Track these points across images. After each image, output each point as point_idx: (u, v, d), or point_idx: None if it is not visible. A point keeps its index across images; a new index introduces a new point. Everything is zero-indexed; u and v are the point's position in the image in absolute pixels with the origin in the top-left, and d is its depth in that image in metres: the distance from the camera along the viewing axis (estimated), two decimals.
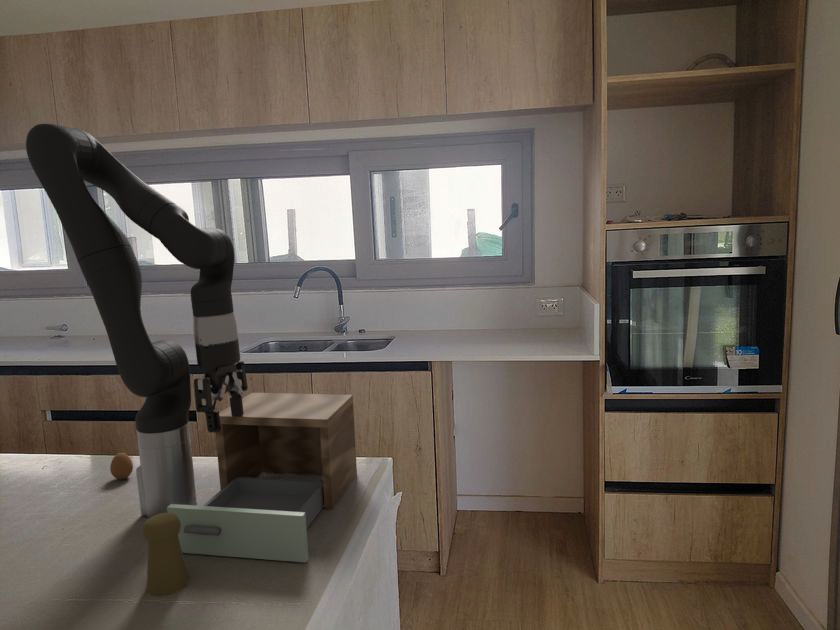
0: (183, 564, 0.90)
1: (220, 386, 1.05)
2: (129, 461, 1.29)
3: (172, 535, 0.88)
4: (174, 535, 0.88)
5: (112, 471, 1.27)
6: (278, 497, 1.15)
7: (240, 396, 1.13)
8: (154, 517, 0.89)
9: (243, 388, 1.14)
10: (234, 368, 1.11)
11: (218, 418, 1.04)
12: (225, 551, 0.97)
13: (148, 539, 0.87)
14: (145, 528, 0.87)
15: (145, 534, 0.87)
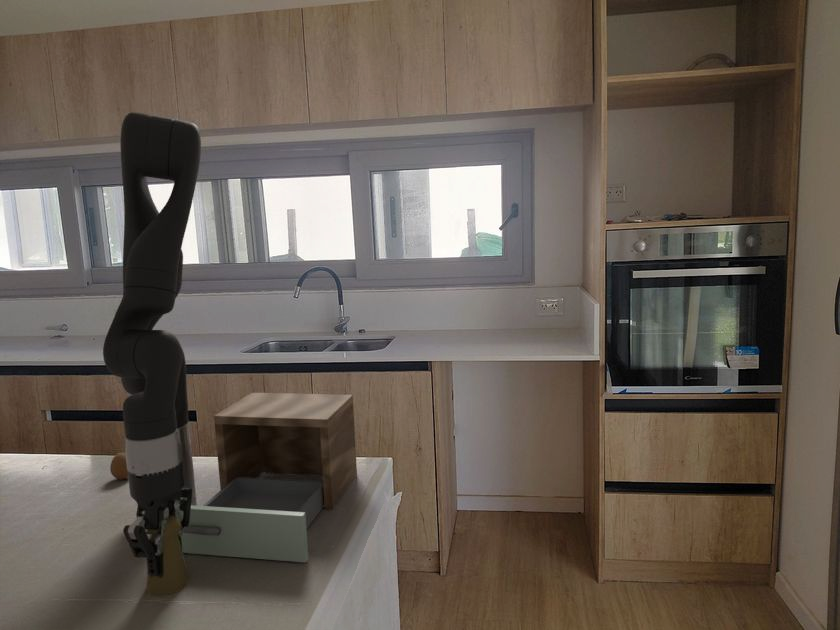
0: (183, 564, 0.90)
1: (159, 524, 0.86)
2: None
3: (172, 535, 0.88)
4: (174, 535, 0.88)
5: (112, 471, 1.27)
6: (278, 497, 1.15)
7: None
8: None
9: (183, 524, 0.93)
10: (178, 493, 0.91)
11: (162, 561, 0.87)
12: (225, 551, 0.97)
13: None
14: None
15: None
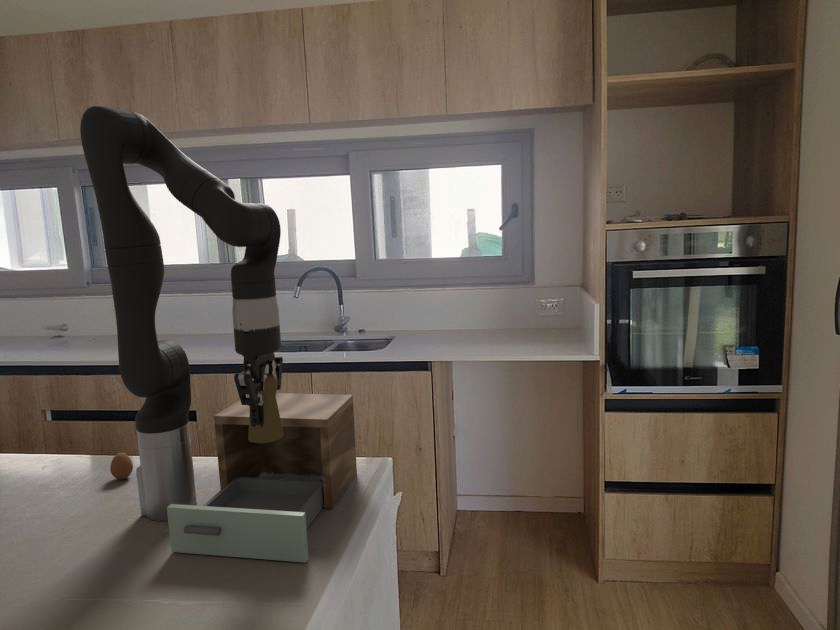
0: (280, 419, 1.01)
1: (261, 378, 0.97)
2: (129, 461, 1.29)
3: (272, 390, 0.98)
4: (273, 390, 0.99)
5: (112, 471, 1.27)
6: (278, 497, 1.15)
7: None
8: None
9: None
10: (273, 357, 1.02)
11: (263, 412, 0.98)
12: (225, 551, 0.97)
13: None
14: None
15: None
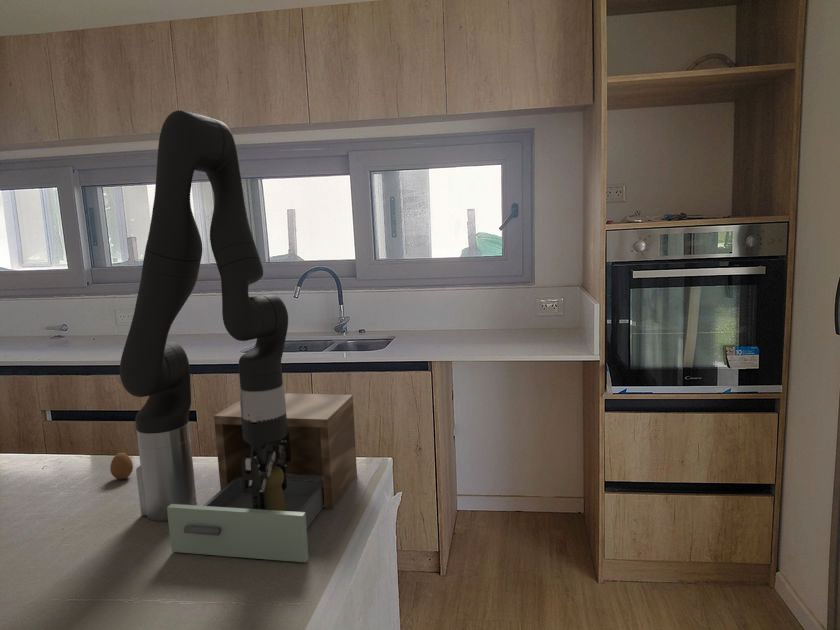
0: (286, 510, 1.03)
1: (266, 464, 0.99)
2: (129, 461, 1.29)
3: (279, 484, 1.01)
4: (280, 484, 1.01)
5: (112, 471, 1.27)
6: None
7: (284, 469, 1.07)
8: None
9: (287, 459, 1.08)
10: (280, 440, 1.04)
11: (264, 498, 0.98)
12: (225, 551, 0.97)
13: None
14: None
15: None
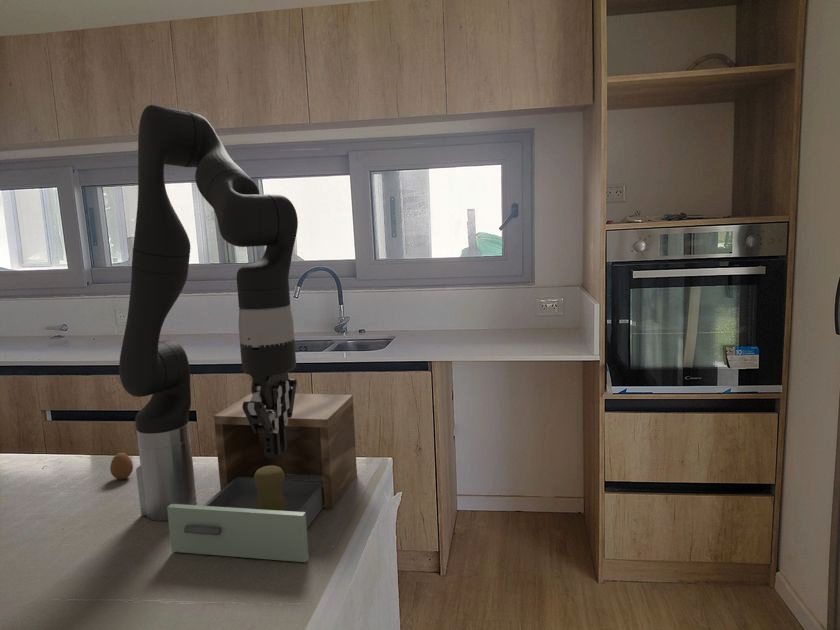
0: (286, 510, 1.03)
1: (274, 402, 0.82)
2: (129, 461, 1.29)
3: (279, 484, 1.01)
4: (280, 484, 1.01)
5: (112, 471, 1.27)
6: None
7: (282, 425, 0.86)
8: (262, 468, 1.02)
9: (287, 415, 0.87)
10: (286, 376, 0.87)
11: (278, 440, 0.84)
12: (225, 551, 0.97)
13: (259, 487, 1.00)
14: (256, 477, 1.00)
15: (257, 482, 1.00)
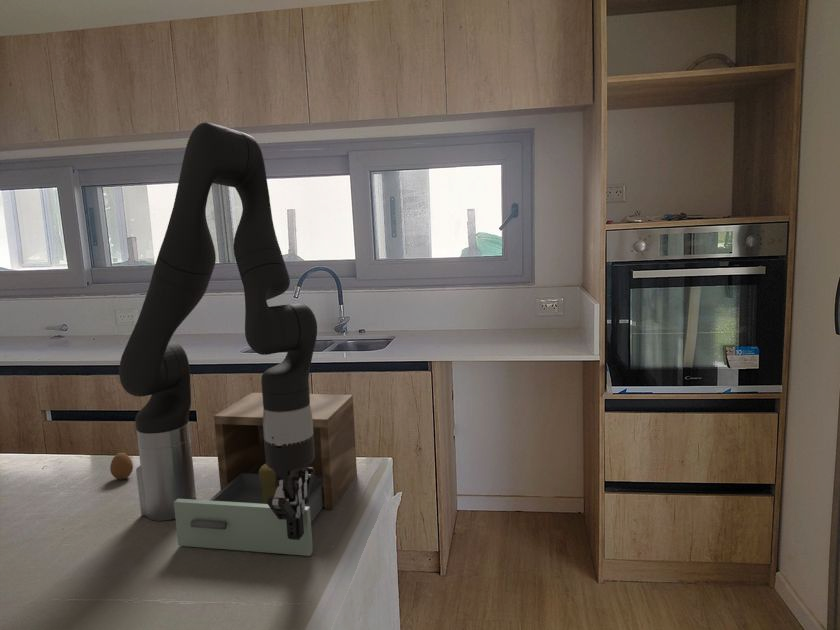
0: None
1: (295, 493, 0.90)
2: (129, 461, 1.29)
3: None
4: None
5: (112, 471, 1.27)
6: None
7: None
8: None
9: None
10: None
11: (300, 524, 0.92)
12: (231, 545, 0.99)
13: (264, 482, 1.02)
14: (261, 473, 1.02)
15: (262, 478, 1.02)
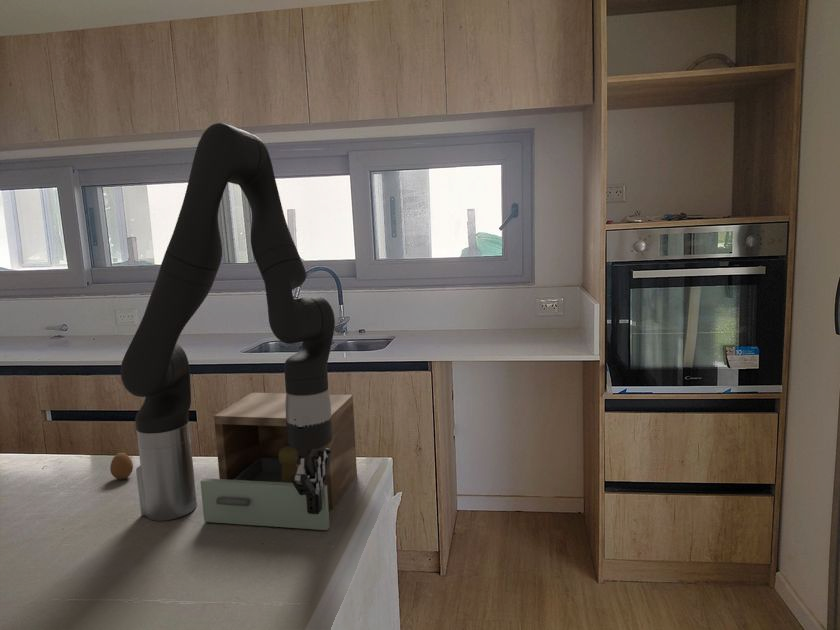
0: None
1: (315, 470, 0.98)
2: (129, 461, 1.29)
3: None
4: None
5: (112, 471, 1.27)
6: None
7: (318, 489, 1.01)
8: (286, 447, 1.12)
9: None
10: (324, 445, 1.02)
11: (319, 500, 1.00)
12: (253, 520, 1.07)
13: (284, 463, 1.10)
14: (281, 454, 1.10)
15: (281, 459, 1.10)
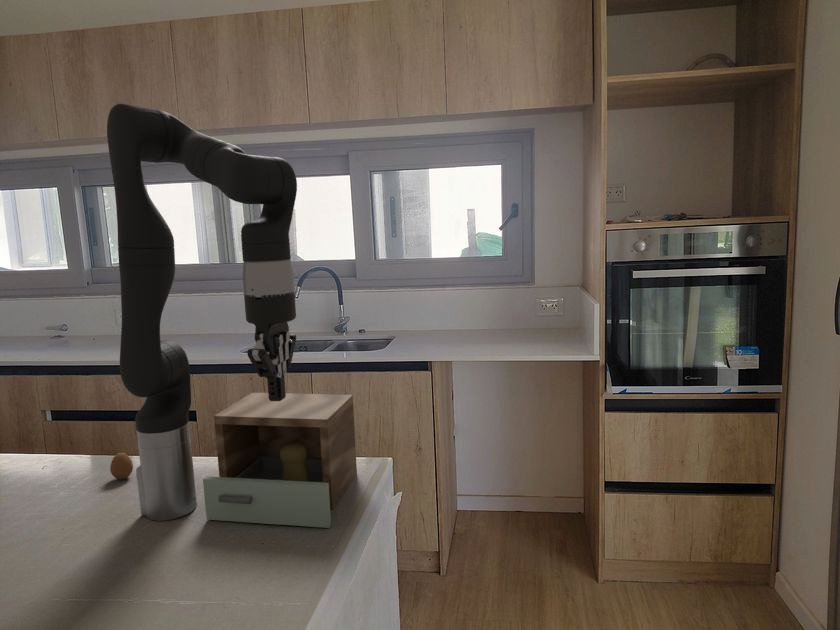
0: None
1: (276, 350, 0.89)
2: (129, 461, 1.29)
3: (303, 459, 1.12)
4: (304, 459, 1.12)
5: (112, 471, 1.27)
6: None
7: None
8: (288, 445, 1.13)
9: (286, 365, 0.93)
10: (287, 328, 0.93)
11: (281, 385, 0.91)
12: (256, 518, 1.07)
13: (286, 461, 1.11)
14: (283, 453, 1.11)
15: (283, 457, 1.11)
